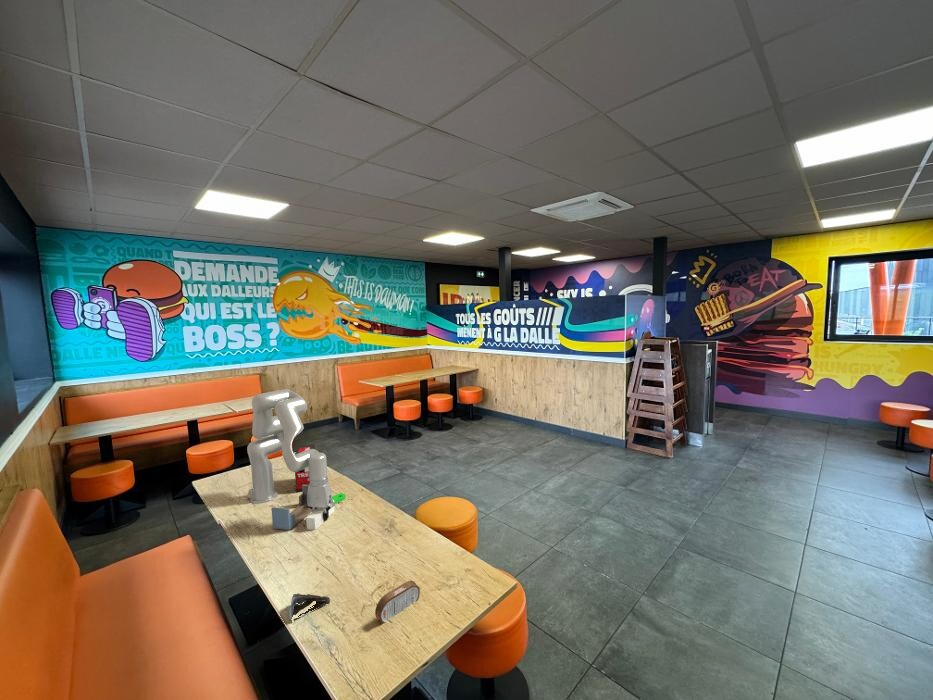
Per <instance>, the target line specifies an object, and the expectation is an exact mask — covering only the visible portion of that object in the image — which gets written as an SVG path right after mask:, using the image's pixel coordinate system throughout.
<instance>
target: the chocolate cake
mask: <svg viewBox="0 0 933 700" xmlns="http://www.w3.org/2000/svg"><path fill="white" fill-rule="evenodd" d="M306 600H307V601H309V602H312V601H316V604H315V605H313V606H314V607H313V606H312V607H313V608H311V607H310V608H311V609H308V611H306V612H305V613H302V614H306V613H308V612H309V611H312V610H314V609H316V608H318V607H320V608H322V607H324V606H326V605H325V604H329V605H330V602H331V599H330V597H329V596H325V595H322V596H320V595H316V594H310V593H307V594H302V593H299V592H297V593H294V594H293V595H292V597H291V601H290V606H289V611H288V614H289V619H292V617H293V614H294V609H295V608H294V606H295V604H296V603H298V604H302V603H303V602H306V603H307V601H306ZM302 605H303V604H302ZM323 605H324V606H323ZM321 606H322V607H321ZM295 607H296V606H295ZM318 609H319V608H318ZM316 610H317V609H316ZM314 611H315V610H314ZM312 612H313V611H312ZM302 614H300V615H299V616H301V615H302ZM308 614H309V613H308ZM306 615H307V614H306ZM299 616H298V617H299Z"/></svg>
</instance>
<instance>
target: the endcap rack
mask: <svg viewBox="0 0 933 700" xmlns="http://www.w3.org/2000/svg"><path fill="white" fill-rule="evenodd" d="M307 490H308V485H302V493H301V494H300V495H299V496H298V506H297V507H295V509H293V510H292V511H291V512H290V516H291V515H292V514H295V525H294V526H293V527H292V528H291V529H290V530H288V529H277V528H273V527H272V530H280V531H281V530H283V531H292V530H293V529H294V528H295V527H297V526H298V525H299V524H300V523H302V521H303V520H304V519H306V517H308V516H309V515H310V514H311V513H312V510H311V509H310V508H309V507H308V506H307V505H306V502H307Z"/></svg>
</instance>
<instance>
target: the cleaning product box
mask: <svg viewBox="0 0 933 700" xmlns="http://www.w3.org/2000/svg"><path fill="white" fill-rule="evenodd" d="M309 449H315V450H316V444H314V443H313V444H308V445H307V444H305V445H298V446H297V447H296V451H295V452H294V455H295V454H298V453H301V452H304V451H306V450H309ZM294 476H295V477H294V479H295V491H296V492H295V493H301V492H302V485H309V484H310V481H308V478H309V467H308V468H305V469H303V470H301V471H298V472H294ZM302 493H303V492H302Z"/></svg>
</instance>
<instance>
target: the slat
mask: <svg viewBox="0 0 933 700" xmlns="http://www.w3.org/2000/svg"><path fill="white" fill-rule="evenodd" d="M333 502H334V500H333ZM329 506H330V504H329ZM334 512H335V506H334V507H332V508H331V509H330V510H329V517H330V516H331V515H332V514H333V513H334ZM323 513H324V510H323V508H319V507H317V508H316V509H315V510H314V511H313V512H311V513H310V514H309V515H308V516H306V517H305V521H306V530H310V531H316V530H317V529H318V528H319V527H320V526H321V525H322V524H323V523H324V522H325V521H324V520H323Z"/></svg>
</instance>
